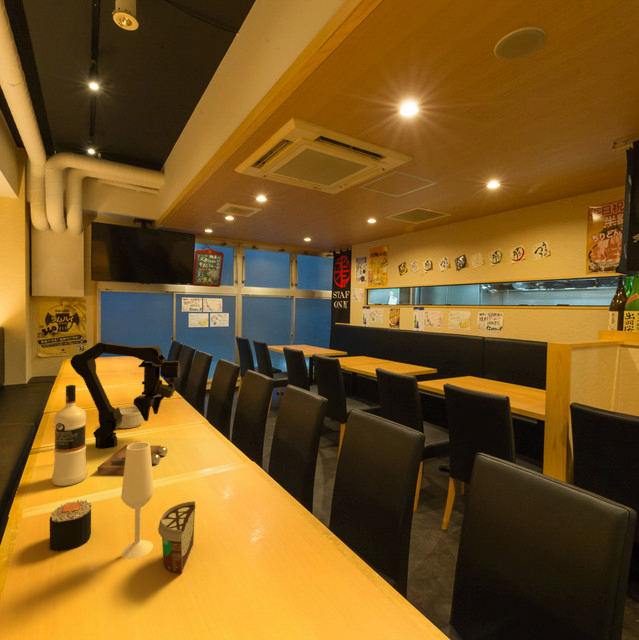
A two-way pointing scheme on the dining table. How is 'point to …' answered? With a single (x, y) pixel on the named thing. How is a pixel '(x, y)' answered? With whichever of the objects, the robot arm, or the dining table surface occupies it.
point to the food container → (177, 536)
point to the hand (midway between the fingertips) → (151, 417)
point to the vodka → (70, 442)
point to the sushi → (70, 525)
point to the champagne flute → (137, 492)
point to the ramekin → (130, 417)
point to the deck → (119, 462)
